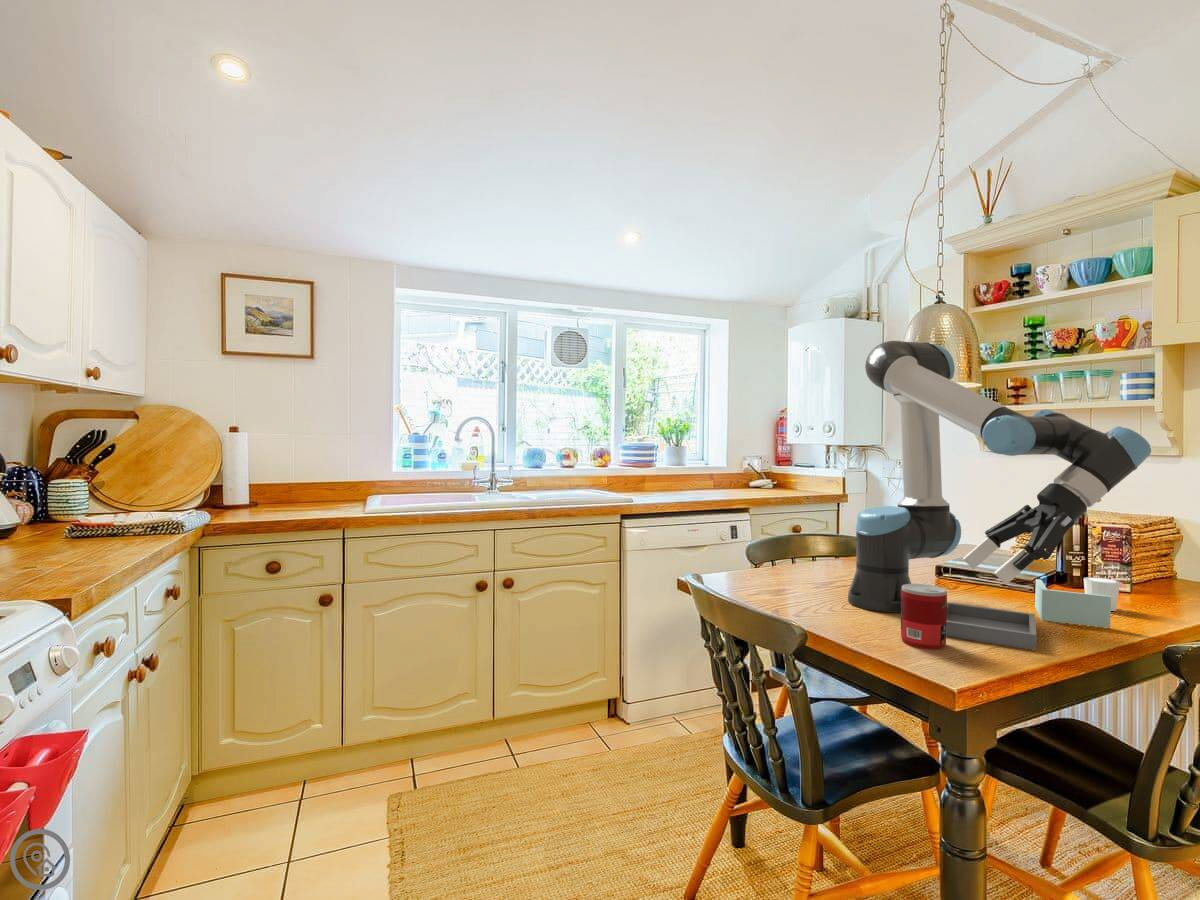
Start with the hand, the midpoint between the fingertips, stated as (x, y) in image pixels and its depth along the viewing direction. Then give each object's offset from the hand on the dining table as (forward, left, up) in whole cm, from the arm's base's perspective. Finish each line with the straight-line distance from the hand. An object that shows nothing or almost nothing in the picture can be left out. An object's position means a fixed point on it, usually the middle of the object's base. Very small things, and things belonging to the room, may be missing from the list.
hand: (983, 571), depth 121 cm
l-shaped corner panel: (+16, +34, -16) cm, 41 cm away
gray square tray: (0, +11, -15) cm, 19 cm away
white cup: (+22, +47, -15) cm, 55 cm away
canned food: (-10, -5, -15) cm, 18 cm away
